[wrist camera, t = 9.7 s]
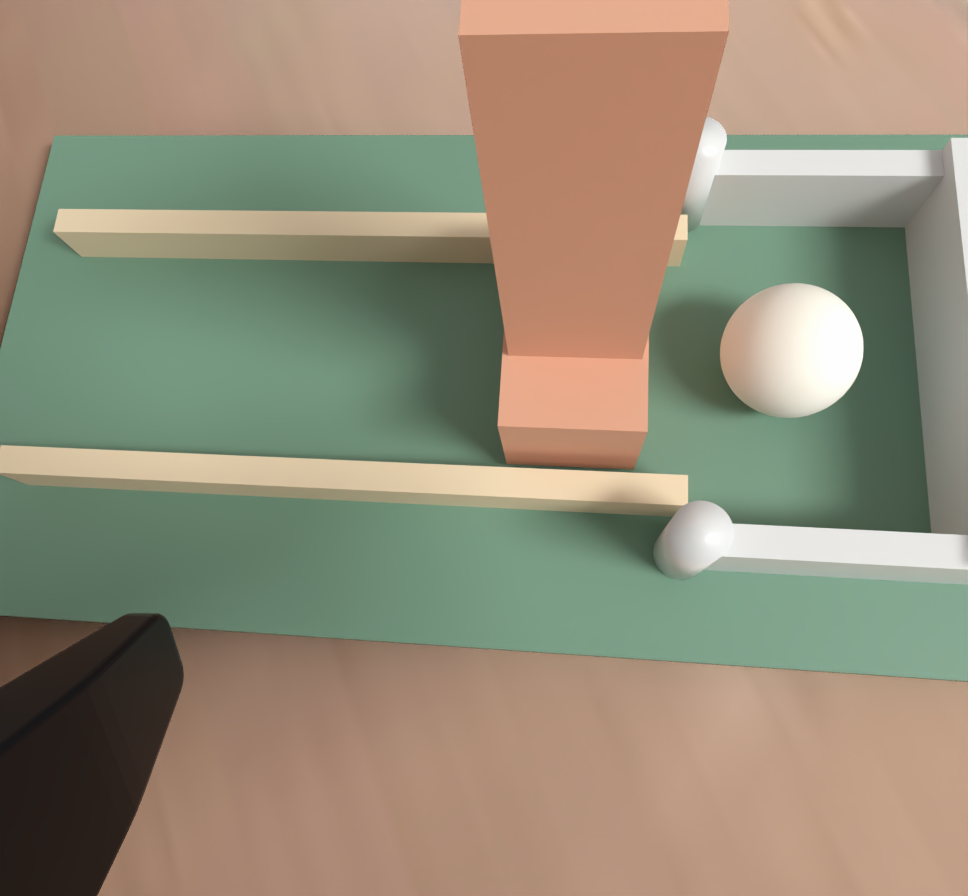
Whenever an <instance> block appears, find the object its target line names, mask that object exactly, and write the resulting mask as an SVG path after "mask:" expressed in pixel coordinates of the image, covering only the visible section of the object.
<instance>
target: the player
mask: <svg viewBox="0 0 968 896" xmlns="http://www.w3.org/2000/svg"><path fill="white" fill-rule="evenodd" d="M728 33H729V4H728V0H462V1H461V12H460V22H459V33H458V37H459V43H460V49H461V56H462V62H463V69H464V75H465V81H466V88H467V94H468V100H469V107H470V113H471V120H472V126H473V132H474V139H475V145H476V152H477V158H478V164H479V171H480V177H481V184H482V190H483V196H484V203H485V209H486V216H487V222H488V228H489V235H490V241H491V248H492V254H493V260H494V267H495V273H496V280H497V286H498V292H499V299H500V305H501V312H502V318H503V324H504V337H503V352H502V367H501V381H500V396H499V411H498V430H499V434H500V438H501V442H502V446H503V451H504V455H505V459H506V463H507V464H516V465H539V466H563V467H586V468H609V469H632V470H634V468H635V465H636V462H637V460H638V457H639V454H640V451H641V449H642V446H643V443H644V441H645V438H646V435H647V432H648V368H649V332H650V328H651V324H652V321H653V317H654V313H655V309H656V305H657V302H658V298H659V294H660V290H661V287H662V283H663V279H664V275H665V271H666V268H667V264H668V260H669V256H670V252H671V249H672V245H673V241H674V237H675V234H676V230H677V226H678V222H679V218H680V215H681V211H682V207H683V203H684V200H685V196H686V192H687V188H688V184H689V181H690V177H691V173H692V169H693V166H694V162H695V158H696V154H697V150H698V147H699V143H700V139H701V135H702V131H703V128H704V124H705V120H706V116H707V113H708V109H709V105H710V101H711V97H712V94H713V90H714V86H715V82H716V79H717V75H718V71H719V67H720V63H721V60H722V56H723V52H724V48H725V45H726V41H727V37H728Z"/></svg>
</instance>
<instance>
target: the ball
mask: <svg viewBox="0 0 968 896" xmlns="http://www.w3.org/2000/svg"><path fill="white" fill-rule="evenodd" d="M862 360H863V336H862V331H861V329H860V326H859V323H858V321H857V319H856V317H855V315H854V314H853V312H852V311H851V309H850V308H849V307H848V306H847V305H846V304H845V303H844V302H843V301H842V300H841V299H840V298H839V297H837V296H836V295H834V294H833V293H831V292H829V291H827V290H825V289H823V288H820V287H817V286H814V285H810V284H803V283H789V284H781V285H776V286H772V287H769V288H767V289H764V290H762V291H760V292H758V293H756V294H755V295H753V296H751V297H750V298H749V299H747V300H746V301H745V302H744V303H743V304H742V305H740V306H739V308H738V309H737V310H736V311H735V312H734V314H733V315H732V317H731V318H730V320H729V321H728V323H727V325H726V327H725V330H724V333H723V336H722V339H721V345H720V361H721V368H722V371H723V374H724V377H725V379H726V381H727V383H728V385H729V387H730V388H731V390H732V391H733V392H734V394H735V395H736V396H737V397H738V398H739V399H740V400H741V401H742V402H744V403H745V404H746V405H748V406H749V407H751V408H752V409H754V410H756V411H758V412H761V413H763V414H766V415H769V416H774V417H781V418H797V417H803V416H808V415H811V414H814V413H817V412H819V411H822V410H824V409H826V408H828V407H829V406H831V405H832V404H834V403H835V402H836V401H837V400H839V399H840V398H841V397H842V396H843V395H844V394H845V393H846V392H847V391H848V389H849V388H850V387H851V385H852V384H853V382H854V381H855V379H856V377H857V375H858V372H859V370H860V367H861V363H862Z"/></svg>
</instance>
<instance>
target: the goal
mask: <svg viewBox="0 0 968 896" xmlns="http://www.w3.org/2000/svg"><path fill="white" fill-rule="evenodd" d="M726 142H727V135H726V132H725V130H724V128H723V127H722V125H721V124H720V123H719V122H717V121H716V120H714V119H712V118H709V117H706V120H705V124H704V128H703V131H702V135H701V139H700V143H699V147H698V150H697V154H696V158H695V162H694V166H693V169H692V173H691V177H690V181H689V184H688V188H687V192H686V196H685V200H684V203H683V207H682V211H681V215H688V232H691V231H693V230H695V229H696V228H697V227H698V226H699V225H718V226H811V227H904V228H905V235H906V246H907V258H908V269H909V281H910V293H911V304H912V316H913V327H914V339H915V350H916V362H917V374H918V385H919V397H920V408H921V420H922V431H923V443H924V454H925V466H926V478H927V489H928V501H929V512H930V524H931V533H914V532H893V531H873V530H853V529H833V528H813V527H793V526H773V525H752V524H732V521H731V519H730V517H729V516H728V514H727V513H726V512H725V511H724V510H723V509H722V508H721V507H719V506H718V505H716V504H714V503H712V502H708V501H693V502H689V503H687V504H685V505H683V506H682V507H681V508H680V509H679V510H678V511H677V512H676V513H675V515H674V516H673V518H672V519H671V520H670V522H669V523H668V524H667V526H666V527H665V529H664V530H663V531H662V533H661V534H660V536H659V537H658V538H657V540H656V542H655V544H654V548H653V558H654V561H655V564H656V566H657V567H658V569H659V570H660V571H661V572H662V573H663V574H664V575H666V576H668V577H670V578H672V579H676V580H686V579H690V578H692V577H694V576H696V575H697V574H698V573H700V572H701V571H702V570H713V571H731V572H749V573H766V574H784V575H802V576H820V577H838V578H856V579H874V580H892V581H910V582H927V583H945V584H963V585H968V138H950V140H949V141H948V142H947V144H946V145H945V147H944V148H943V149H942V150H724V149H725V146H726Z"/></svg>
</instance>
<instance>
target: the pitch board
mask: <svg viewBox="0 0 968 896" xmlns="http://www.w3.org/2000/svg"><path fill="white" fill-rule="evenodd" d="M950 138H968V135H727V142H726V146H725V149H724V150H942V149H943V148H944V147H945V145H946V144H947V142H948V141H949V140H950ZM789 283H803V284H810V285H814V286H817V287H820V288H823V289H825V290H827V291H829V292H831V293H833V294H834V295H836V296H837V297H839V298H840V299H841V300H842V301H843V302H844V303H845V304H846V305H847V306H848V307H849V308H850V309H851V311H852V312H853V314H854V315H855V317H856V319H857V321H858V323H859V326H860V329H861V331H862V336H863V360H862V363H861V367H860V370H859V372H858V375H857V377H856V379H855V381H854V382H853V384H852V385H851V387H850V388H849V389H848V391H847V392H846V393H845V394H844V395H843V396H842V397H841V398H840V399H839V400H837V401H836V402H835V403H834V404H832V405H831V406H829V407H828V408H826V409H824V410H822V411H819V412H817V413H814V414H811V415H808V416H803V417H797V418H781V417H774V416H769V415H766V414H763V413H761V412H758V411H756V410H754V409H752V408H751V407H749V406H748V405H746V404H745V403H744V402H742V401H741V400H740V399H739V398H738V397H737V396H736V395H735V394H734V392H733V391H732V390H731V388H730V387H729V385H728V383H727V381H726V379H725V377H724V374H723V371H722V368H721V361H720V345H721V339H722V336H723V333H724V330H725V327H726V325H727V323H728V321H729V320H730V318H731V317H732V315H733V314H734V312H735V311H736V310H737V309H738V308H739V306H740V305H742V304H743V303H744V302H745V301H746V300H747V299H749V298H750V297H751V296H753V295H755V294H756V293H758V292H760V291H762V290H764V289H767V288H769V287H772V286H776V285H781V284H789ZM503 337H504V324H503V318H502V312H501V305H500V299H499V292H498V286H497V280H496V273H495V267H494V260H493V254H492V248H491V241H490V235H489V228H488V222H487V216H486V209H485V203H484V196H483V190H482V184H481V177H480V171H479V164H478V158H477V152H476V145H475V139H474V135H258V136H54V139H53V143H52V147H51V151H50V155H49V159H48V163H47V167H46V171H45V175H44V179H43V182H42V186H41V190H40V194H39V198H38V202H37V206H36V210H35V214H34V218H33V222H32V226H31V230H30V234H29V238H28V242H27V246H26V250H25V254H24V257H23V261H22V265H21V269H20V273H19V277H18V281H17V285H16V289H15V293H14V297H13V301H12V305H11V309H10V313H9V317H8V321H7V325H6V328H5V332H4V336H3V340H2V344H1V348H0V616H11V617H25V618H40V619H55V620H69V621H84V622H99V623H111V622H113V621H114V620H116V619H118V618H119V617H121V616H123V615H125V614H128V613H159V614H161V615H163V616H165V618H166V619H167V620H168V622H169V624H170V627H172V628H187V629H201V630H216V631H231V632H245V633H260V634H275V635H289V636H304V637H319V638H333V639H348V640H363V641H377V642H392V643H407V644H421V645H436V646H451V647H465V648H480V649H495V650H509V651H524V652H539V653H553V654H568V655H583V656H597V657H612V658H627V659H641V660H656V661H671V662H685V663H700V664H715V665H729V666H744V667H759V668H773V669H788V670H803V671H817V672H832V673H847V674H861V675H876V676H890V677H905V678H920V679H934V680H949V681H964V682H968V585H963V584H945V583H927V582H910V581H892V580H874V579H856V578H838V577H820V576H802V575H784V574H766V573H749V572H731V571H713V570H702V571H701V572H700V573H698V574H697V575H696V576H694V577H692V578H690V579H686V580H676V579H672V578H670V577H668V576H666V575H664V574H663V573H662V572H661V571H660V570H659V569H658V567H657V566H656V564H655V561H654V558H653V548H654V544H655V542H656V540H657V538H658V537H659V536H660V534H661V533H662V531H663V530H664V529H665V527H666V526H667V524H668V523H669V522H670V520H671V519H672V518H673V516H674V515H675V513H676V512H677V511H678V510H679V509H680V508H681V507H682V506H683V505H685V504H687V503H689V502H693V501H708V502H712V503H714V504H716V505H718V506H719V507H721V508H722V509H723V510H724V511H725V512H726V513H727V514H728V516H729V517H730V519H731V521H732V524H752V525H773V526H793V527H813V528H833V529H853V530H873V531H893V532H914V533H931V524H930V512H929V501H928V489H927V478H926V466H925V454H924V443H923V431H922V420H921V408H920V397H919V385H918V374H917V362H916V350H915V339H914V327H913V316H912V304H911V293H910V281H909V269H908V258H907V246H906V235H905V228H904V227H811V226H718V225H699V226H698V227H697V228H696V229H695V230H693V231H691V232H688V215H680V218H679V222H678V226H677V230H676V234H675V237H674V241H673V245H672V249H671V252H670V256H669V260H668V264H667V268H666V271H665V275H664V279H663V283H662V287H661V290H660V294H659V298H658V302H657V305H656V309H655V313H654V317H653V321H652V324H651V328H650V332H649V368H648V432H647V435H646V438H645V441H644V443H643V446H642V449H641V451H640V454H639V457H638V460H637V462H636V465H635V468H634V470H632V469H609V468H586V467H563V466H539V465H516V464H507V463H506V459H505V455H504V451H503V446H502V442H501V438H500V434H499V430H498V411H499V396H500V381H501V367H502V352H503Z"/></svg>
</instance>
